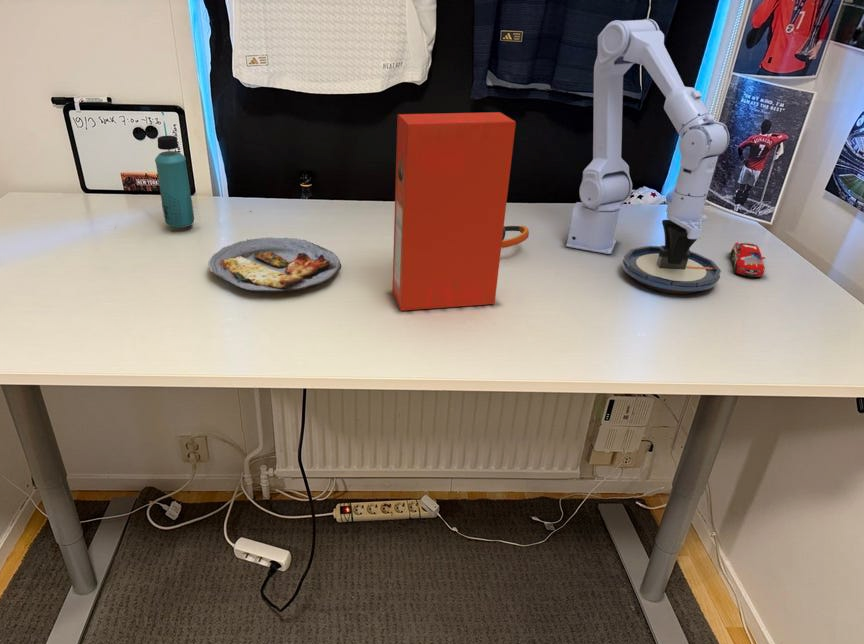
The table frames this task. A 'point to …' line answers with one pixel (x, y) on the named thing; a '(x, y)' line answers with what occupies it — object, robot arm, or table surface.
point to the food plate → (275, 264)
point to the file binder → (450, 207)
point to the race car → (747, 259)
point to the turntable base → (665, 289)
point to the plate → (671, 269)
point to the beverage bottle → (174, 184)
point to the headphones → (514, 240)
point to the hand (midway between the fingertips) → (672, 260)
